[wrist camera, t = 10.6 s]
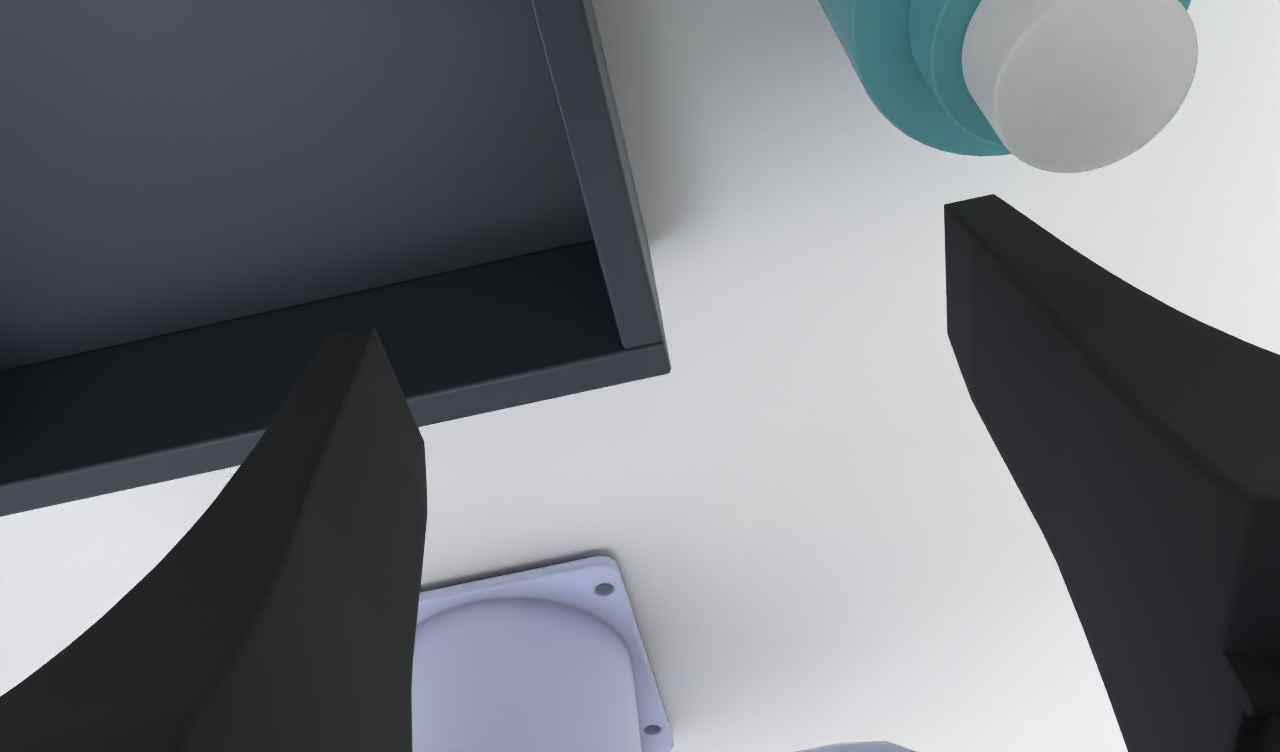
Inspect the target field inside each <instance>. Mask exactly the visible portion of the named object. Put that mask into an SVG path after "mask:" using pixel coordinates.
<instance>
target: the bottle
mask: <svg viewBox="0 0 1280 752" xmlns="http://www.w3.org/2000/svg"><path fill="white" fill-rule="evenodd" d="M1190 1H1191V0H819V2H820V4H821V6H822V8H823V10H824V12H825V14H826V16H827V18H828V19H829V21H830V23H831V25H832V27H833V29H834V31H835V33H836V35H837V37H838V38H839V40H840V42H841V44H842V46H843V48H844V50H845V52H846V54H847V56H848V58H849V59H850V61H851V63H852V65H853V67H854V69H855V71H856V73H857V75H858V77H859V78H860V80H861V82H862V84H863V86H864V88H865V90H866V92H867V94H868V96H869V97H870V99H871V100H872V101H873V103H874V104H875V106H876V107H877V108H878V110H879V111H880V112H881V113H882V114H883V115H884V116H885V117H886V118H887V119H888V120H889V121H890V122H891V123H892V124H893V125H894V126H895V127H897V128H898V129H899V130H901V131H902V132H903V133H905V134H906V135H907V136H909V137H911V138H913V139H915V140H917V141H919V142H921V143H923V144H925V145H928V146H930V147H933V148H936V149H939V150H942V151H946V152H951V153H956V154H961V155H973V156H995V155H1006V154H1013V155H1014V156H1015V157H1017V158H1018V159H1019V160H1021V161H1023V162H1024V163H1026V164H1028V165H1030V166H1033V167H1036V168H1038V169H1041V170H1046V171H1051V172H1059V173H1075V172H1083V171H1089V170H1093V169H1097V168H1101V167H1104V166H1106V165H1109V164H1112V163H1114V162H1116V161H1118V160H1120V159H1122V158H1125V157H1127V156H1128V155H1130V154H1132V153H1133V152H1135V151H1136V150H1138V149H1140V148H1141V147H1142V146H1143V145H1145V144H1146V143H1147V142H1149V141H1150V140H1151V139H1152V138H1153V137H1155V136H1156V135H1157V134H1158V133H1159V132H1160V131H1161V130H1162V129H1163V128H1164V127H1165V126H1166V125H1167V123H1168V122H1169V121H1170V120H1171V119H1172V117H1173V116H1174V115H1175V113H1176V112H1177V111H1178V109H1179V108H1180V106H1181V104H1182V103H1183V101H1184V99H1185V97H1186V95H1187V93H1188V91H1189V89H1190V86H1191V84H1192V81H1193V78H1194V74H1195V70H1196V65H1197V54H1198V46H1197V36H1196V32H1195V28H1194V24H1193V22H1192V20H1191V18H1190V16H1189V14H1188V12H1187V9H1188V7H1189V4H1190Z"/></svg>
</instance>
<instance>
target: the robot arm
mask: <svg viewBox="0 0 1280 752" xmlns="http://www.w3.org/2000/svg"><path fill="white" fill-rule="evenodd" d="M944 221H945V258H946V295H947V332H948V336H949V339H950V342H951V345H952V348H953V350H954V353H955V356H956V359H957V362H958V365H959V367H960V370H961V373H962V375H963V378H964V381H965V383H966V386H967V389H968V391H969V394H970V397H971V399H972V401H973V403H974V405H975V407H976V409H977V411H978V413H979V415H980V417H981V419H982V420H983V422H984V424H985V426H986V428H987V430H988V432H989V434H990V436H991V437H992V439H993V441H994V443H995V445H996V447H997V449H998V451H999V452H1000V454H1001V456H1002V458H1003V460H1004V462H1005V464H1006V465H1007V467H1008V469H1009V471H1010V473H1011V475H1012V477H1013V478H1014V480H1015V482H1016V484H1017V486H1018V488H1019V490H1020V491H1021V493H1022V495H1023V497H1024V499H1025V501H1026V503H1027V504H1028V506H1029V508H1030V510H1031V512H1032V514H1033V516H1034V517H1035V519H1036V521H1037V523H1038V525H1039V527H1040V529H1041V530H1042V532H1043V534H1044V536H1045V539H1046V541H1047V543H1048V545H1049V547H1050V549H1051V551H1052V553H1053V555H1054V557H1055V560H1056V562H1057V564H1058V566H1059V569H1060V571H1061V574H1062V576H1063V579H1064V581H1065V584H1066V586H1067V589H1068V591H1069V594H1070V597H1071V599H1072V602H1073V604H1074V607H1075V609H1076V612H1077V614H1078V617H1079V619H1080V622H1081V624H1082V627H1083V629H1084V632H1085V635H1086V637H1087V640H1088V643H1089V645H1090V648H1091V651H1092V653H1093V656H1094V659H1095V661H1096V664H1097V667H1098V669H1099V672H1100V674H1101V677H1102V680H1103V682H1104V685H1105V688H1106V690H1107V693H1108V696H1109V699H1110V701H1111V704H1112V707H1113V710H1114V713H1115V716H1116V718H1117V721H1118V724H1119V727H1120V730H1121V733H1122V735H1123V738H1124V741H1125V744H1126V747H1127V750H1128V752H1280V355H1278V354H1275V353H1273V352H1270V351H1268V350H1265V349H1263V348H1260V347H1257V346H1255V345H1252V344H1250V343H1247V342H1245V341H1243V340H1240V339H1238V338H1236V337H1234V336H1232V335H1229V334H1227V333H1225V332H1223V331H1220V330H1218V329H1216V328H1214V327H1211V326H1209V325H1207V324H1205V323H1202V322H1200V321H1198V320H1196V319H1194V318H1192V317H1190V316H1188V315H1186V314H1184V313H1182V312H1180V311H1178V310H1176V309H1174V308H1172V307H1170V306H1168V305H1166V304H1165V303H1163V302H1161V301H1159V300H1157V299H1156V298H1154V297H1152V296H1150V295H1148V294H1146V293H1145V292H1143V291H1141V290H1139V289H1137V288H1135V287H1134V286H1132V285H1130V284H1129V283H1127V282H1125V281H1124V280H1122V279H1120V278H1119V277H1117V276H1115V275H1113V274H1112V273H1110V272H1109V271H1107V270H1105V269H1104V268H1102V267H1101V266H1099V265H1097V264H1096V263H1094V262H1093V261H1091V260H1090V259H1088V258H1086V257H1085V256H1083V255H1082V254H1080V253H1079V252H1077V251H1076V250H1074V249H1073V248H1071V247H1070V246H1068V245H1067V244H1065V243H1064V242H1062V241H1061V240H1059V239H1058V238H1056V237H1055V236H1053V235H1052V234H1050V233H1049V232H1048V231H1046V230H1045V229H1043V228H1042V227H1040V226H1039V225H1038V224H1036V223H1035V222H1033V221H1032V220H1030V219H1029V218H1028V217H1026V216H1025V215H1023V214H1022V213H1020V212H1019V211H1018V210H1016V209H1015V208H1013V207H1012V206H1010V205H1009V204H1008V203H1006V202H1005V201H1003V200H1002V199H1000V198H999V197H997V196H996V195H994V194H992V195H987V196H982V197H978V198H973V199H968V200H964V201H959V202H954V203H950V204H945V205H944ZM426 521H427V485H426V465H425V447H424V441H423V438H422V436H421V434H420V431H419V429H418V427H417V424H416V422H415V420H414V417H413V415H412V413H411V410H410V408H409V406H408V403H407V401H406V399H405V396H404V394H403V392H402V389H401V387H400V385H399V382H398V380H397V378H396V375H395V373H394V371H393V368H392V366H391V364H390V361H389V359H388V357H387V354H386V352H385V350H384V347H383V345H382V343H381V340H380V338H379V336H378V333H377V331H376V329H375V326H373V327H368V328H363V329H359V330H354V331H349V332H344V333H340V334H335V335H330V336H327V338H326V339H325V341H324V342H323V344H322V345H321V347H320V348H319V350H318V351H317V353H316V354H315V356H314V357H313V359H312V360H311V362H310V364H309V365H308V367H307V368H306V370H305V371H304V373H303V374H302V376H301V377H300V379H299V381H298V382H297V384H296V385H295V387H294V388H293V390H292V392H291V393H290V395H289V396H288V398H287V399H286V401H285V402H284V404H283V405H282V407H281V409H280V410H279V412H278V413H277V415H276V416H275V418H274V419H273V421H272V422H271V424H270V425H269V426H268V428H267V429H266V431H265V432H264V434H263V435H262V437H261V438H260V440H259V441H258V443H257V444H256V446H255V447H254V449H253V450H252V451H251V453H250V454H249V455H248V457H247V458H246V459H245V461H244V462H243V463H242V465H241V466H240V467H239V469H238V470H237V471H236V473H235V474H234V475H233V477H232V478H231V479H230V481H229V482H228V483H227V485H226V486H225V487H224V489H223V490H222V491H221V493H220V494H219V495H218V496H217V498H216V499H215V500H214V502H213V503H212V504H211V505H210V507H209V508H208V509H207V510H206V511H205V513H204V514H203V515H202V516H201V517H200V518H199V520H198V521H197V522H196V523H195V524H194V525H193V527H192V528H191V529H190V530H189V531H188V532H187V533H186V534H185V536H184V537H183V538H182V539H181V540H180V541H179V542H178V543H177V544H176V545H175V546H174V548H173V549H172V550H171V551H170V552H169V553H168V554H167V555H166V556H165V557H164V558H163V559H162V560H161V561H160V562H159V564H158V565H157V566H156V567H155V568H154V569H153V570H152V571H151V572H149V573H148V574H147V575H146V576H145V577H144V578H143V579H142V580H141V581H140V582H139V583H138V584H137V585H136V586H135V587H134V588H133V589H131V590H130V591H129V592H128V593H127V594H126V595H125V596H124V597H123V598H122V599H121V600H120V601H119V602H118V603H117V604H116V605H115V606H113V607H112V608H111V609H110V610H109V611H108V612H107V613H106V614H105V615H104V616H103V617H102V618H101V619H99V620H98V621H97V622H96V623H95V624H94V625H92V626H91V627H90V628H89V629H88V630H87V631H85V632H84V633H83V634H82V635H81V636H79V637H78V638H77V639H76V640H75V641H73V642H72V643H71V644H70V645H69V646H67V647H66V648H65V649H64V650H62V651H61V652H60V653H59V654H57V655H56V656H55V657H53V658H52V659H51V660H50V661H48V662H47V663H46V664H45V665H43V666H42V667H41V668H39V669H38V670H37V671H36V672H34V673H33V674H32V675H30V676H29V677H27V678H26V679H25V680H23V681H22V682H21V683H19V684H18V685H17V686H15V687H14V688H12V689H11V690H10V691H8V692H7V693H5V694H4V695H2V696H1V697H0V752H669V751H670V750H671V749H672V748H673V735H672V732H671V729H670V726H669V722H668V719H667V716H666V713H665V710H664V707H663V704H662V701H661V698H660V695H659V691H658V688H657V685H656V682H655V679H654V676H653V673H652V670H651V667H650V664H649V661H648V657H647V654H646V651H645V648H644V645H643V642H642V639H641V636H640V633H639V630H638V627H637V623H636V620H635V617H634V614H633V611H632V608H631V605H630V602H629V599H628V596H627V593H626V589H625V586H624V583H623V580H622V577H621V574H620V571H619V568H618V565H617V563H616V562H615V560H613V559H612V558H610V557H606V556H595V557H590V558H585V559H580V560H575V561H570V562H566V563H561V564H556V565H551V566H546V567H541V568H537V569H532V570H527V571H522V572H517V573H512V574H507V575H503V576H498V577H493V578H488V579H483V580H478V581H474V582H469V583H464V584H459V585H454V586H449V587H444V588H440V589H435V590H430V591H425V592H420V585H421V575H422V565H423V554H424V544H425V533H426ZM602 583H608V584H605V585H600V584H602ZM797 752H917V751H914V750H911V749H908V748H905V747H902V746H899V745H896V744H893V743H890V742H887V741H878V742H855V743H839V744H834V745H828V746H823V747H818V748H813V749H807V750H802V751H797Z"/></svg>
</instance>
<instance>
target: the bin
mask: <svg viewBox="0 0 1280 752" xmlns="http://www.w3.org/2000/svg"><path fill="white" fill-rule="evenodd" d="M373 326H375V329H376V331H377V333H378V336H379V338H380V340H381V343H382V345H383V347H384V350H385V352H386V354H387V357H388V359H389V361H390V364H391V366H392V368H393V371H394V373H395V375H396V378H397V380H398V382H399V385H400V387H401V389H402V392H403V394H404V396H405V399H406V401H407V403H408V406H409V408H410V410H411V413H412V415H413V417H414V420H415V422H416V424H417V427H421V426H426V425H430V424H435V423H440V422H444V421H449V420H454V419H458V418H463V417H468V416H472V415H477V414H482V413H486V412H491V411H496V410H500V409H505V408H510V407H514V406H519V405H524V404H528V403H533V402H538V401H542V400H547V399H552V398H556V397H561V396H566V395H570V394H575V393H580V392H584V391H589V390H594V389H598V388H603V387H608V386H612V385H617V384H622V383H626V382H631V381H636V380H640V379H645V378H650V377H654V376H659V375H664V374H668V373H670V370H671V366H670V361H669V355H668V350H667V344H666V339H665V333H664V327H663V322H662V316H661V311H660V305H659V300H658V294H657V289H656V283H655V278H654V272H653V267H652V261H651V255H650V250H649V245H648V241H647V237H646V232H645V228H644V224H643V220H642V215H641V211H640V207H639V203H638V198H637V194H636V190H635V185H634V181H633V177H632V173H631V168H630V164H629V160H628V155H627V151H626V147H625V143H624V138H623V134H622V130H621V125H620V121H619V117H618V113H617V108H616V104H615V100H614V96H613V91H612V87H611V83H610V78H609V74H608V70H607V66H606V61H605V57H604V53H603V48H602V44H601V40H600V36H599V31H598V27H597V23H596V18H595V14H594V10H593V6H592V1H591V0H0V517H1V516H5V515H10V514H15V513H19V512H24V511H29V510H33V509H38V508H43V507H47V506H52V505H57V504H61V503H66V502H71V501H75V500H80V499H85V498H89V497H94V496H99V495H103V494H108V493H113V492H117V491H122V490H127V489H131V488H136V487H141V486H145V485H150V484H155V483H159V482H164V481H169V480H173V479H178V478H183V477H187V476H192V475H197V474H201V473H206V472H211V471H215V470H220V469H225V468H229V467H234V466H239V465H242V463H243V462H244V461H245V459H246V458H247V457H248V455H249V454H250V453H251V451H252V450H253V449H254V447H255V446H256V444H257V443H258V441H259V440H260V438H261V437H262V435H263V434H264V432H265V431H266V429H267V428H268V426H269V425H270V424H271V422H272V421H273V419H274V418H275V416H276V415H277V413H278V412H279V410H280V409H281V407H282V405H283V404H284V402H285V401H286V399H287V398H288V396H289V395H290V393H291V392H292V390H293V388H294V387H295V385H296V384H297V382H298V381H299V379H300V377H301V376H302V374H303V373H304V371H305V370H306V368H307V367H308V365H309V364H310V362H311V360H312V359H313V357H314V356H315V354H316V353H317V351H318V350H319V348H320V347H321V345H322V344H323V342H324V341H325V339H326V338H327V336H330V335H335V334H340V333H344V332H349V331H354V330H359V329H363V328H368V327H373Z"/></svg>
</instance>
